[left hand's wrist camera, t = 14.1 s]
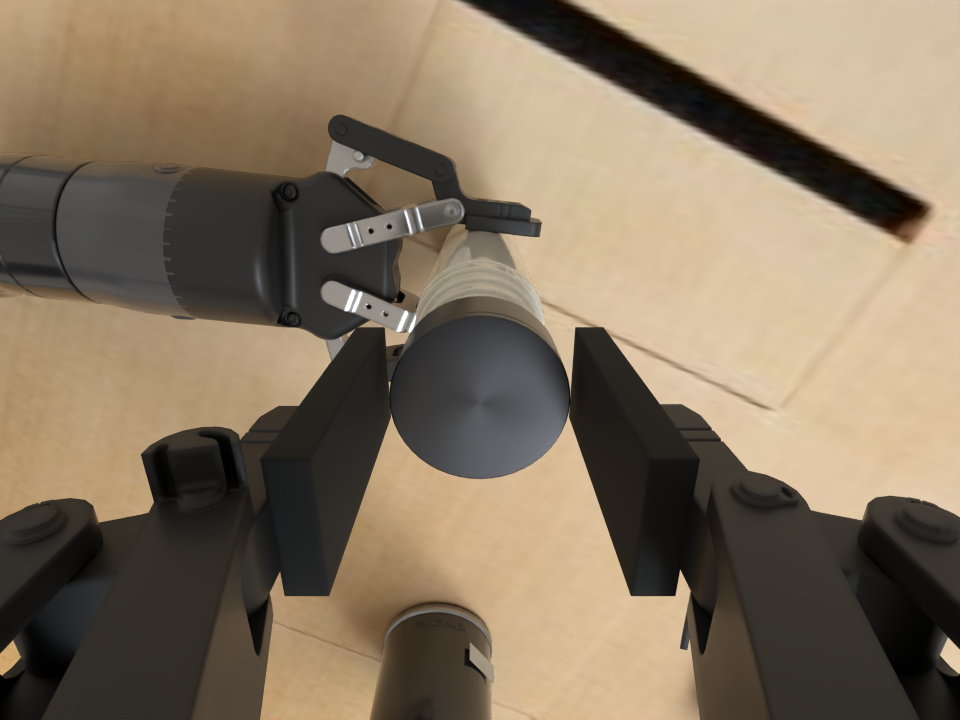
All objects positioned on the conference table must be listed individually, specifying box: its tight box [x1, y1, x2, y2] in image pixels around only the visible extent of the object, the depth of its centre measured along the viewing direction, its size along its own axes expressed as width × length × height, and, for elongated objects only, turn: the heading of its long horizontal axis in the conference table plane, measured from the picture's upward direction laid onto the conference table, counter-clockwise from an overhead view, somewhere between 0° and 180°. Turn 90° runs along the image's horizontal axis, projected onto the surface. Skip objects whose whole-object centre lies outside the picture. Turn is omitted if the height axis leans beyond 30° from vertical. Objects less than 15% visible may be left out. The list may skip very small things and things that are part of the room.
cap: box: [390, 296, 570, 479], centre depth 13 cm, size 4×4×2 cm
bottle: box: [415, 224, 545, 326], centre depth 23 cm, size 5×5×21 cm
